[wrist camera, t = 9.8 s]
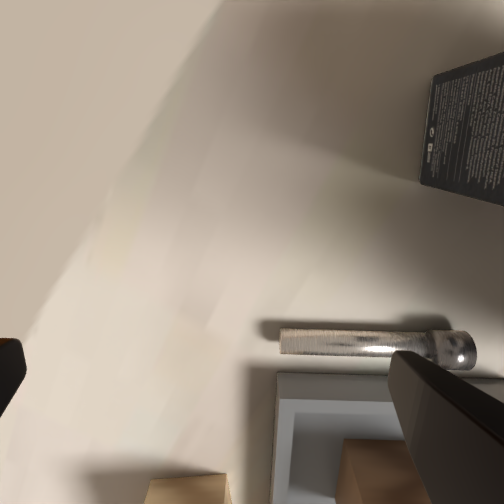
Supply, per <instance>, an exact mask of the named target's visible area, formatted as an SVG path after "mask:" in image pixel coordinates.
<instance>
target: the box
mask: <svg viewBox="0 0 504 504" xmlns="http://www.w3.org/2000/svg"><path fill="white" fill-rule="evenodd" d="M419 181H420V183H421V184H422V185H426V186H430V187H434V188H438V189H442V190H445V191H449V192H453V193H457V194H461V195H464V196H468V197H472V198H475V199H479V200H483V201H487V202H490V203H494V204H498V205H502V206H504V52H502V53H499V54H497V55H494V56H490V57H488V58H485V59H482V60H479V61H476V62H473V63H470V64H467V65H464V66H461V67H458V68H455V69H452V70H450V71H446V72H444V73H441V74H437V75H436V76H434V77H433V78H432V80H431V88H430V97H429V102H428V111H427V118H426V128H425V135H424V143H423V152H422V160H421V169H420V175H419Z"/></svg>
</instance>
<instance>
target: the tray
mask: <svg viewBox="0 0 504 504" xmlns="http://www.w3.org/2000/svg"><path fill="white" fill-rule="evenodd" d="M461 379H463V380H464V381H466V382H468V383H470V384H471V385H473V386H475V387H477V388H478V389H480V390H482V391H484V392H485V393H487V394H489V395H491V396H492V397H494V398H496V399H498V400H499V401H501V402H503V403H504V379H481V378H461ZM344 439H371V440H402V441H405V439H404V436H403V432H402V429H401V426H400V423H399V420H398V417H397V414H396V411H395V408H394V404H393V401H392V398H391V395H390V392H389V389H388V376H380V375H347V374H314V373H280V372H277V384H276V400H275V417H274V433H273V449H272V465H271V482H270V498H269V504H336V502H335V494H336V487H337V481H338V474H339V467H340V461H341V454H342V448H343V441H344Z"/></svg>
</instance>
